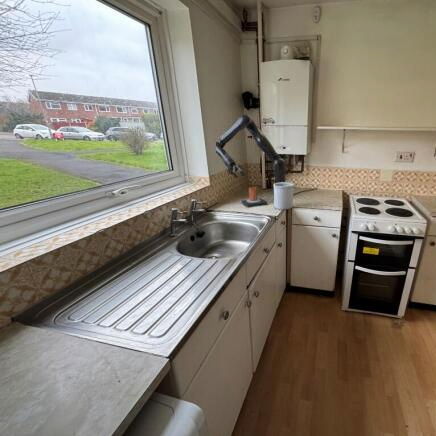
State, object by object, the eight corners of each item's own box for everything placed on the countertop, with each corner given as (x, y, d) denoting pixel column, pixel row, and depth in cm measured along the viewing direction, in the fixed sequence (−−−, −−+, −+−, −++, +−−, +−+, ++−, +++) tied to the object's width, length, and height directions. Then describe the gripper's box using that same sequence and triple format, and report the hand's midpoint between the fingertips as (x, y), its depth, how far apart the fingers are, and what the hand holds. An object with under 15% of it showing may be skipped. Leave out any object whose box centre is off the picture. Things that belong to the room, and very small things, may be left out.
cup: (255, 198, 188) (255, 186, 185) (258, 200, 183) (257, 188, 180) (248, 199, 185) (247, 187, 182) (251, 201, 180) (250, 188, 177)
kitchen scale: (260, 200, 194) (260, 197, 193) (267, 204, 182) (267, 201, 181) (241, 203, 186) (241, 199, 185) (247, 207, 175) (247, 203, 174)
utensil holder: (297, 207, 173) (297, 184, 167) (280, 211, 166) (279, 187, 160) (287, 203, 185) (287, 181, 179) (270, 206, 177) (269, 183, 172)
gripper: (224, 158, 177) (236, 174, 175) (236, 157, 189) (248, 172, 187) (219, 165, 181) (232, 181, 180) (232, 163, 193) (244, 178, 191)
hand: (240, 176), depth 183 cm, fingers open, 8 cm apart
